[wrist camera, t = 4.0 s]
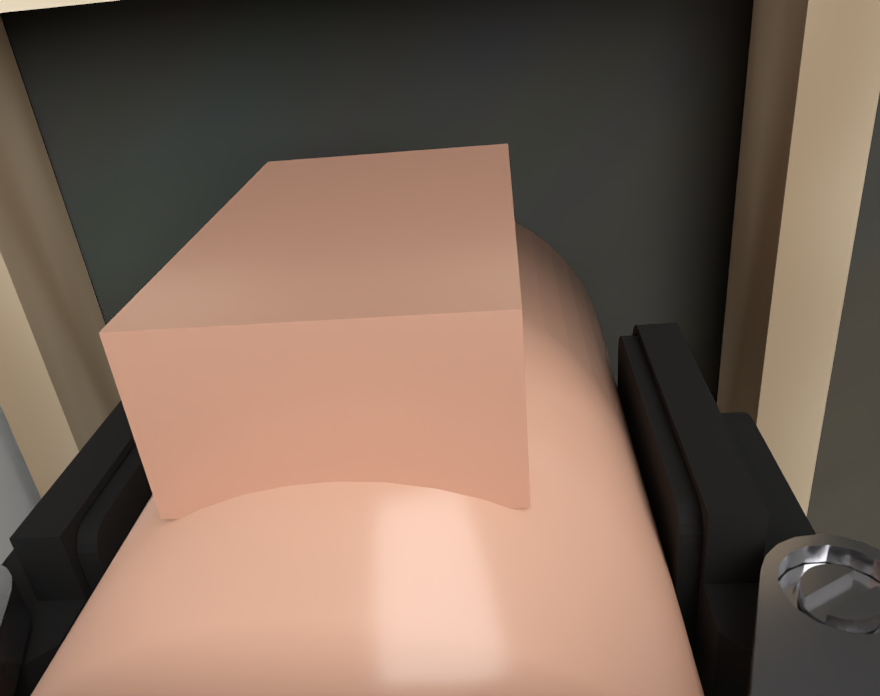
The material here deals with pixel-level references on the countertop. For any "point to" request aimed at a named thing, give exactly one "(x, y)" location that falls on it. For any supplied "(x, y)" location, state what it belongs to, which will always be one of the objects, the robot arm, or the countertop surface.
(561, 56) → the countertop surface
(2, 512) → the tray
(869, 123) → the light wooden square frame
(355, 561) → the pink cylinder with tab
